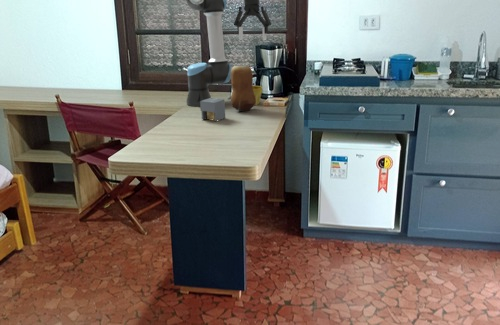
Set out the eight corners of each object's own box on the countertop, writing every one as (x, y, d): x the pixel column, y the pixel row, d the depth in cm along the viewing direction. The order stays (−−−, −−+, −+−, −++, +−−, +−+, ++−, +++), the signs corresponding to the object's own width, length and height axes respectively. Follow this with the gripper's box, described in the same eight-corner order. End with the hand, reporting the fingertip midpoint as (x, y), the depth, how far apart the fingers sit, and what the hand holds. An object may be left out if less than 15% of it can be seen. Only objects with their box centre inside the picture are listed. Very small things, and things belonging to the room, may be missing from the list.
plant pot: (260, 105, 280) (260, 89, 276) (243, 105, 282) (242, 88, 278) (263, 102, 289) (263, 85, 286) (246, 101, 291) (246, 85, 288)
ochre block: (207, 119, 252) (206, 111, 250) (212, 118, 255) (211, 109, 254) (214, 120, 250) (214, 112, 248) (219, 118, 253) (219, 110, 252)
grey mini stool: (201, 120, 251) (200, 101, 248) (211, 116, 258) (210, 97, 255) (215, 122, 247) (214, 102, 243) (225, 118, 254) (224, 99, 251)
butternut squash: (243, 106, 278) (242, 62, 270) (260, 110, 269) (259, 64, 261) (225, 111, 269) (223, 65, 261) (242, 114, 260) (241, 67, 252)
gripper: (226, -4, 243) (227, 40, 249) (270, -5, 231) (271, 41, 238) (233, -4, 249) (235, 39, 256) (277, -5, 237) (278, 39, 244)
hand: (252, 40), depth 247 cm, fingers open, 13 cm apart
